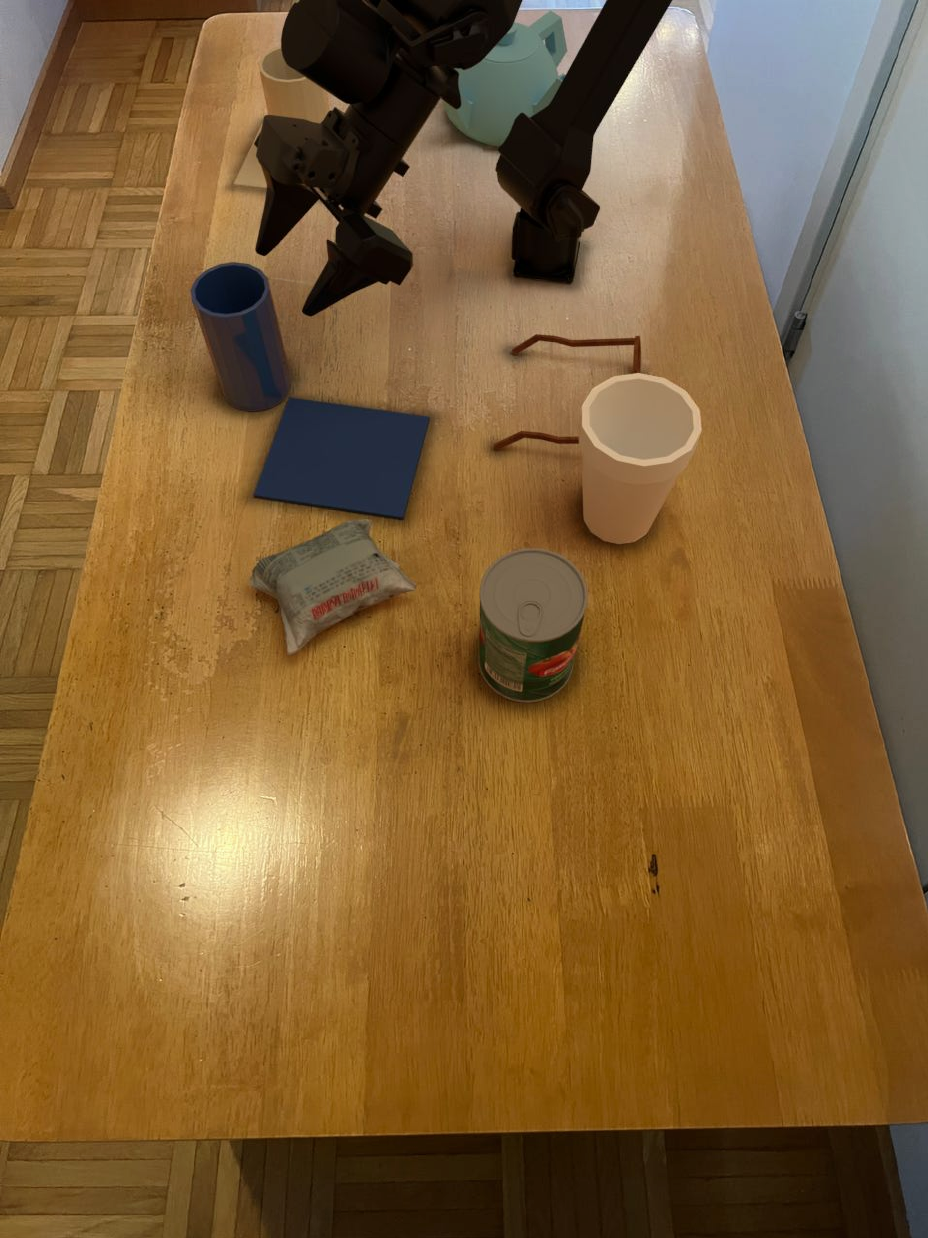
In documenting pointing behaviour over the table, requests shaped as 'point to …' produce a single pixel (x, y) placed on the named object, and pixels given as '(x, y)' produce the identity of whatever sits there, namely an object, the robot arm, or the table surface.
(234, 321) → the blue cup
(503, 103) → the teapot
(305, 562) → the packaged food
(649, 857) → the table surface
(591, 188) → the table surface
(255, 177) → the cream mat
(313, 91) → the cream cup
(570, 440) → the glasses
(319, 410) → the blue mat
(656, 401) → the foam cup
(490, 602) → the canned tomato
